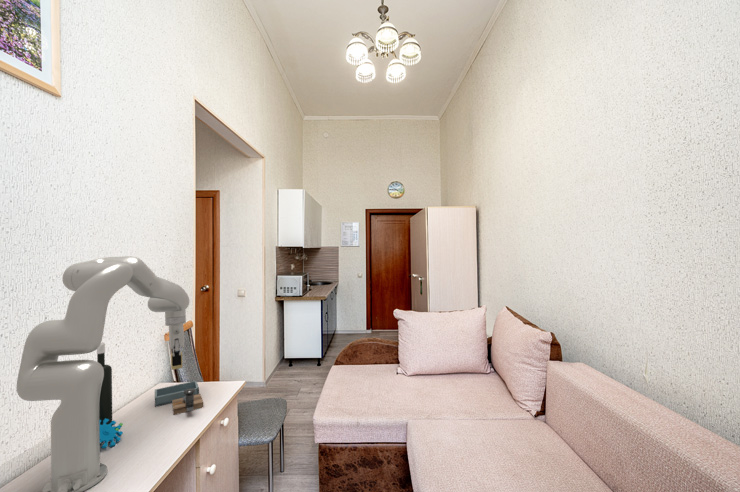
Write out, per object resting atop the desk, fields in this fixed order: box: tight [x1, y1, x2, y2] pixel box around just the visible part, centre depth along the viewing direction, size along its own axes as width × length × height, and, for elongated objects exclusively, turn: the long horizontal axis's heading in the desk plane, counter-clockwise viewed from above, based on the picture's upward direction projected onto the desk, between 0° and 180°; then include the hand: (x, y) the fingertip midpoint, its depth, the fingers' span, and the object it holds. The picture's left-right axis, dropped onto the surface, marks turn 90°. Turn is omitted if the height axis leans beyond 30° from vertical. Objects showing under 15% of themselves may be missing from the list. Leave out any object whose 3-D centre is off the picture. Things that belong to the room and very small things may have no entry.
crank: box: [183, 388, 195, 412], centre depth 124 cm, size 13×4×7 cm, turn 34°
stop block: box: [170, 350, 183, 371], centre depth 138 cm, size 4×4×6 cm
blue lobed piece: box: [99, 418, 124, 450], centre depth 103 cm, size 11×6×10 cm
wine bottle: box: [96, 341, 113, 425], centre depth 112 cm, size 6×6×30 cm
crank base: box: [171, 393, 204, 416], centre depth 128 cm, size 10×10×2 cm
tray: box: [154, 380, 200, 408], centre depth 137 cm, size 11×16×4 cm
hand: (176, 363), depth 138 cm, fingers closed on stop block, 4 cm apart
